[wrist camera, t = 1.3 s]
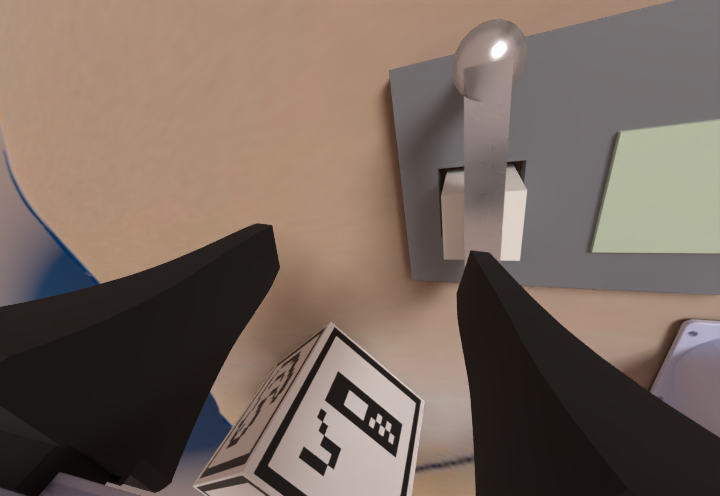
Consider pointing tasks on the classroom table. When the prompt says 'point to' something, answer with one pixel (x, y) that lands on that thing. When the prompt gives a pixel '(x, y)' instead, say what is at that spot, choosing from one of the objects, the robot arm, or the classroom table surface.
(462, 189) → the plug
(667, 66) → the socket plate
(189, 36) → the classroom table surface
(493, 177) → the ball-topped lever
